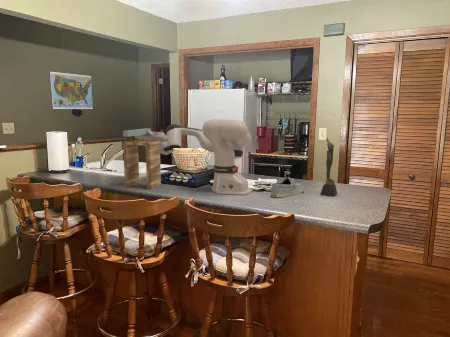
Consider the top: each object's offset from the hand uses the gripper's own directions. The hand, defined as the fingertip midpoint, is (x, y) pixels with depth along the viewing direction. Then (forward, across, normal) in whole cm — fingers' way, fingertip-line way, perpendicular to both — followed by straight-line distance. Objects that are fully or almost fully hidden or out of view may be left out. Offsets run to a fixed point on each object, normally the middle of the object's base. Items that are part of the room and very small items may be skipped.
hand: (144, 130), depth 215 cm
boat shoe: (-20, -87, -26) cm, 93 cm away
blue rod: (+5, 0, -5) cm, 7 cm away
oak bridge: (-8, -4, -32) cm, 33 cm away
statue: (-25, -107, -22) cm, 112 cm away
